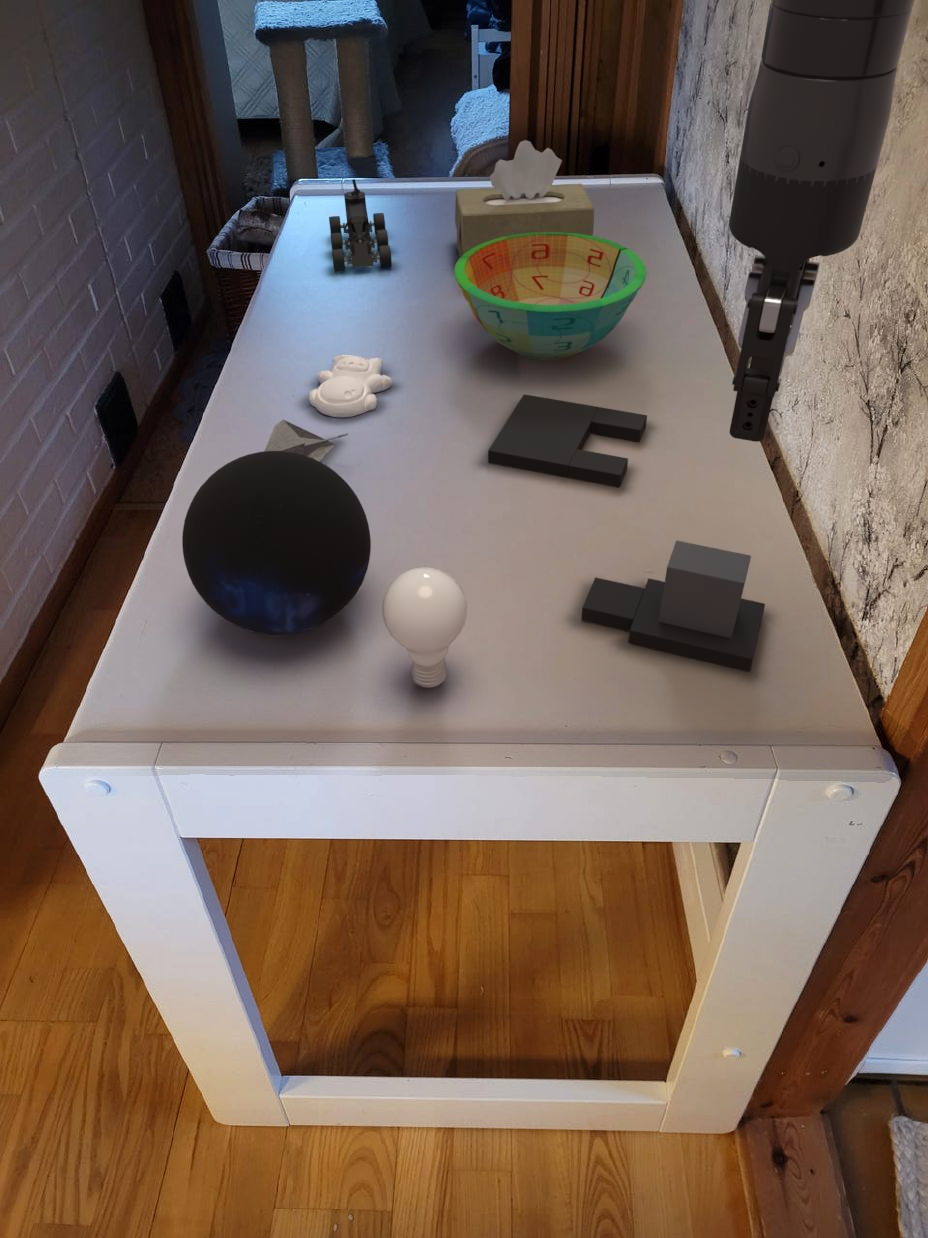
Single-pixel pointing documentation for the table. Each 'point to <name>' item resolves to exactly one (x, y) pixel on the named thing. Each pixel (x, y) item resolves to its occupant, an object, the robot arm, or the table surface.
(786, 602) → the table surface
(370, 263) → the toy vehicle
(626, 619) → the pad
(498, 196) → the tissue box
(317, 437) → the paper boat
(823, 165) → the robot arm
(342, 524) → the decorative sphere
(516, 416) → the notch pad
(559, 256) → the bowl
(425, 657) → the lightbulb
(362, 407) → the white bear figurine
